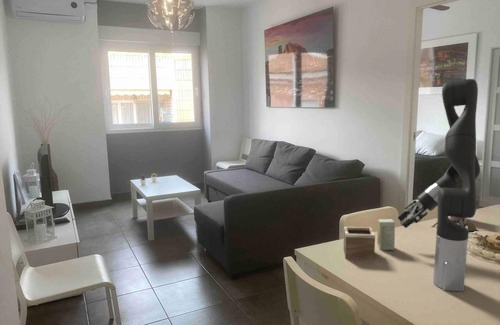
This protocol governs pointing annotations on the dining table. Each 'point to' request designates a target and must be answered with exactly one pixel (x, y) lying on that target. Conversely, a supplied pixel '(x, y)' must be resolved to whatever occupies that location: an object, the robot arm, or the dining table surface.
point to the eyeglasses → (461, 222)
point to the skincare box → (386, 234)
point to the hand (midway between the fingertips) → (401, 222)
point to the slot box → (359, 243)
